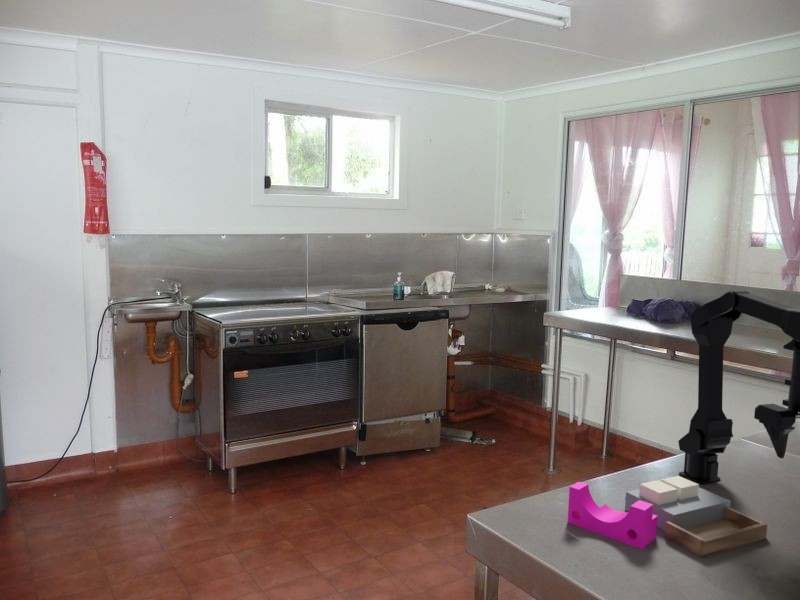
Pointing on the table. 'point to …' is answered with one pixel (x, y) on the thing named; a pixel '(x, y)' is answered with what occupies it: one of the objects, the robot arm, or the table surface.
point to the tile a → (658, 492)
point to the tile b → (682, 487)
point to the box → (718, 533)
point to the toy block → (612, 518)
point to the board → (685, 509)
